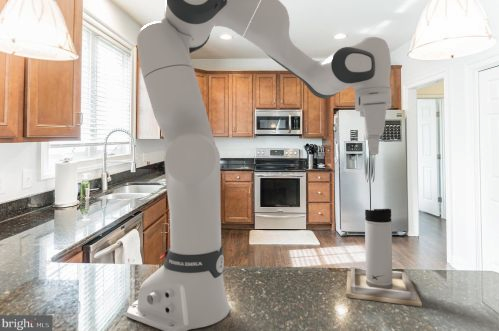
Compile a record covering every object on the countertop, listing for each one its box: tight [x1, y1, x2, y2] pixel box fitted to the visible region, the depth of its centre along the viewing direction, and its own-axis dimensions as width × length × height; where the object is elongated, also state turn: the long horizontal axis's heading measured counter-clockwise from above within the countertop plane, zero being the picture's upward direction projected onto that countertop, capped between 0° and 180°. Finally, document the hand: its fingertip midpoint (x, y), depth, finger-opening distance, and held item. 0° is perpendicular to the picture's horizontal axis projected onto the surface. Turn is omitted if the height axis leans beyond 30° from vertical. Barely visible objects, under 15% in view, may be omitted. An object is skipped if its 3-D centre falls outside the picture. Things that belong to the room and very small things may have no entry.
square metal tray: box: [345, 266, 423, 308], centre depth 76 cm, size 16×16×2 cm
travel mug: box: [364, 208, 393, 289], centre depth 76 cm, size 6×7×20 cm
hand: (373, 155), depth 78 cm, fingers open, 8 cm apart
